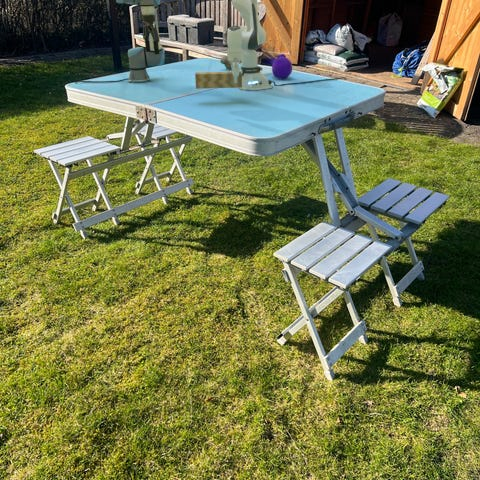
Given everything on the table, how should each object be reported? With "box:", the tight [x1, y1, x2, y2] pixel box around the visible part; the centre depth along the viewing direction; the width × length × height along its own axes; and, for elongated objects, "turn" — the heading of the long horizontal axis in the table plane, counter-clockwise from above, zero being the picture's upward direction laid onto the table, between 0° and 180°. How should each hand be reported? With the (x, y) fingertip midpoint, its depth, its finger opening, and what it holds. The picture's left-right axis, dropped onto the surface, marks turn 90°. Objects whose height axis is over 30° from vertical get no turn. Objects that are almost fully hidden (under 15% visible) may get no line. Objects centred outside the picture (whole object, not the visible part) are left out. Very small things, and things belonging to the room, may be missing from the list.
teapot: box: [220, 55, 241, 71], centre depth 371 cm, size 21×12×15 cm, turn 120°
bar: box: [194, 71, 242, 90], centre depth 269 cm, size 28×6×8 cm, turn 93°
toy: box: [260, 53, 293, 80], centre depth 336 cm, size 16×18×27 cm
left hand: (152, 53), depth 276 cm, fingers open, 13 cm apart
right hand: (235, 81), depth 270 cm, fingers closed on bar, 6 cm apart
